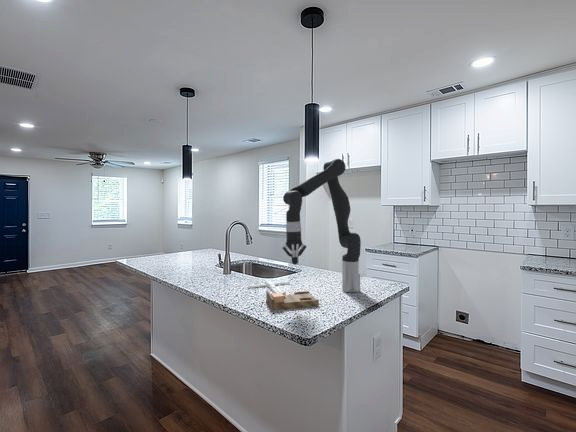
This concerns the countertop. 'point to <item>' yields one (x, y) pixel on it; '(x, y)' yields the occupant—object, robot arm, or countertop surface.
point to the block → (278, 297)
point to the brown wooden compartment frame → (293, 301)
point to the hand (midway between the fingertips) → (294, 264)
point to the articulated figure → (271, 286)
